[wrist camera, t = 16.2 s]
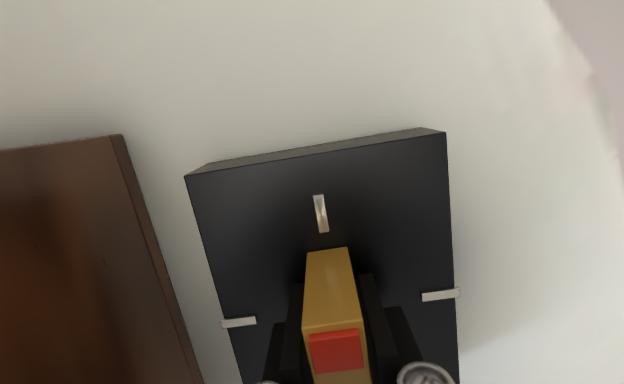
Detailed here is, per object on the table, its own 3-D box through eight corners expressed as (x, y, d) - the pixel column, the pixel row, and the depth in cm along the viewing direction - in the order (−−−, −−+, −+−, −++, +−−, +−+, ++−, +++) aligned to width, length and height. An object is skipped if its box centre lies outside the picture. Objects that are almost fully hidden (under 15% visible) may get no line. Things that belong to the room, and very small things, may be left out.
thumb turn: (365, 357, 12) (388, 480, 8) (328, 362, 12) (333, 485, 8) (347, 245, 11) (364, 326, 7) (306, 252, 11) (299, 335, 7)
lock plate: (441, 364, 16) (465, 415, 13) (264, 385, 16) (254, 438, 14) (424, 126, 12) (451, 131, 10) (205, 163, 13) (177, 177, 10)
